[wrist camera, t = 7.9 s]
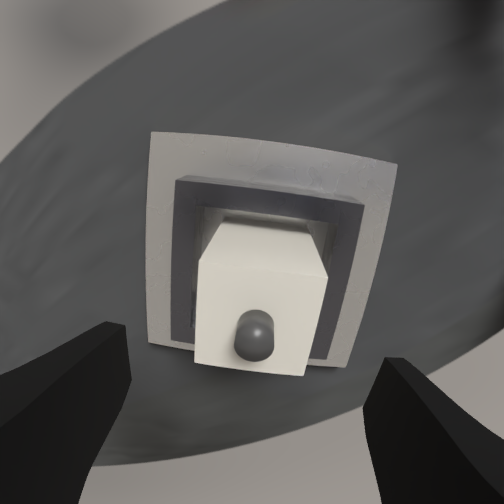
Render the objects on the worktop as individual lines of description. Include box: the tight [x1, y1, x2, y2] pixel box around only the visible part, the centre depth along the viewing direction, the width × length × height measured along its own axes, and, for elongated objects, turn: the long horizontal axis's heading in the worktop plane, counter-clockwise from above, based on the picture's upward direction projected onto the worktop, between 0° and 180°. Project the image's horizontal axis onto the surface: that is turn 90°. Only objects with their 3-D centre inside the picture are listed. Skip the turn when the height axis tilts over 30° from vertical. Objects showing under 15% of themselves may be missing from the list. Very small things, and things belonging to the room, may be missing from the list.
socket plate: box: [146, 132, 398, 367], centre depth 16 cm, size 12×12×3 cm
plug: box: [194, 217, 328, 376], centre depth 13 cm, size 4×4×7 cm
